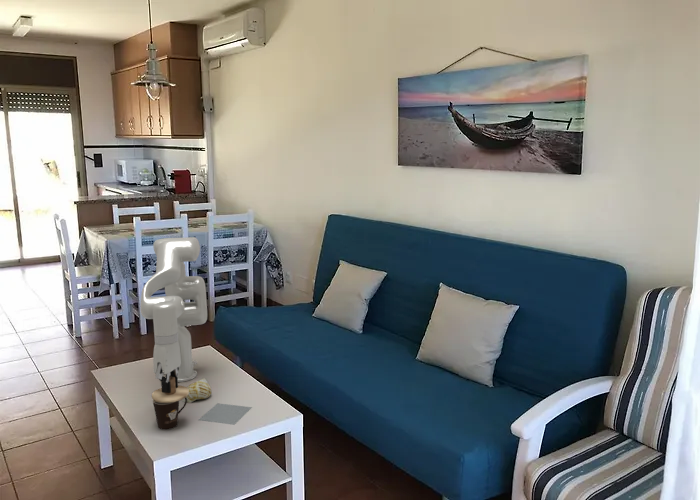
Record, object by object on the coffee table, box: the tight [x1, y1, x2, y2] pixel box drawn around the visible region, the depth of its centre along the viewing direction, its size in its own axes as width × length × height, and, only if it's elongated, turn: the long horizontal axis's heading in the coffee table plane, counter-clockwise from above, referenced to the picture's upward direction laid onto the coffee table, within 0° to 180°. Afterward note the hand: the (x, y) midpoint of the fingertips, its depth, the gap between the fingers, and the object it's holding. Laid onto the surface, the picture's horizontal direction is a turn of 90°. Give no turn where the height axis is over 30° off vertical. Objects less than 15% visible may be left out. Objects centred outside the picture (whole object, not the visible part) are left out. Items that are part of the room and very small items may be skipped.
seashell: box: [181, 378, 212, 404], centre depth 223 cm, size 10×10×10 cm
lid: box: [151, 377, 189, 403], centre depth 200 cm, size 12×12×6 cm
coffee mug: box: [152, 398, 188, 431], centre depth 202 cm, size 12×9×10 cm
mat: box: [198, 402, 253, 426], centre depth 210 cm, size 14×14×1 cm
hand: (170, 389), depth 200 cm, fingers closed on lid, 3 cm apart
